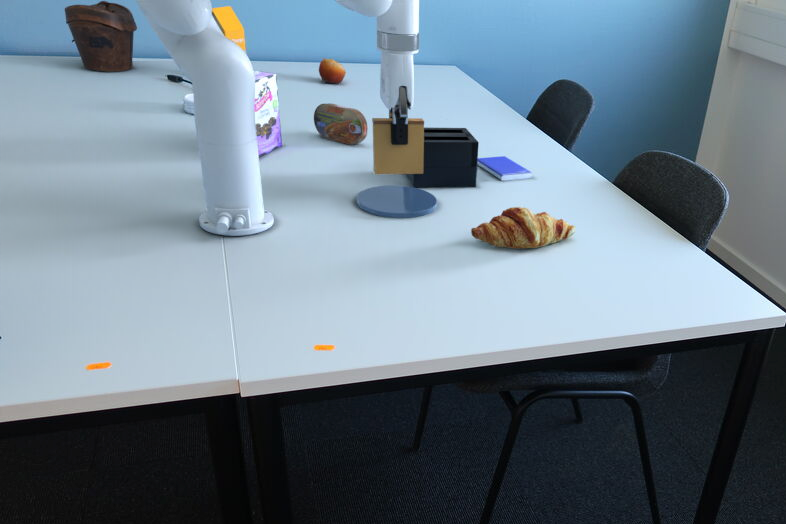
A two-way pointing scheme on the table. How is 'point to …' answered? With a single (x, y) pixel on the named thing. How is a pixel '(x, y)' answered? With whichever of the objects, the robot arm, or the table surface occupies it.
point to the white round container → (189, 103)
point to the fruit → (331, 71)
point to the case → (102, 35)
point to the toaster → (447, 159)
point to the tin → (340, 123)
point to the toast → (398, 148)
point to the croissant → (522, 229)
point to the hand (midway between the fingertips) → (398, 141)
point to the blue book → (504, 168)
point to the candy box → (267, 112)
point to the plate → (396, 201)
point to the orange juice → (229, 25)
